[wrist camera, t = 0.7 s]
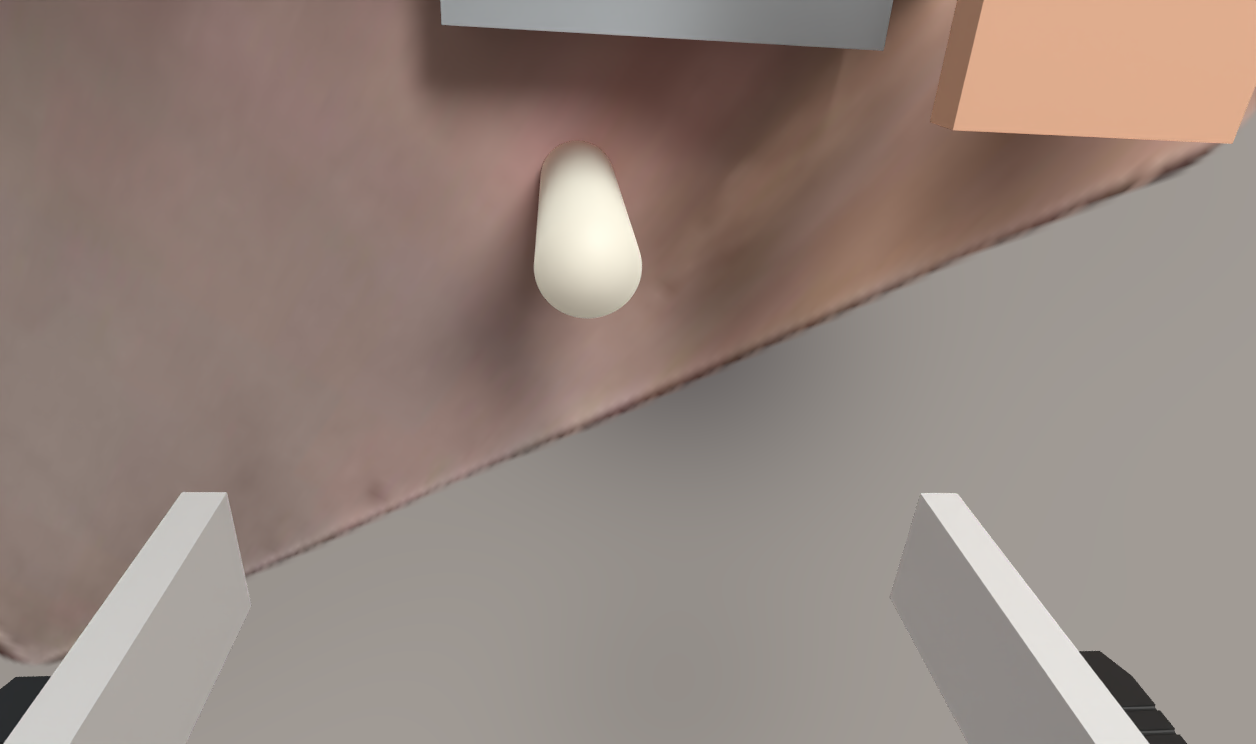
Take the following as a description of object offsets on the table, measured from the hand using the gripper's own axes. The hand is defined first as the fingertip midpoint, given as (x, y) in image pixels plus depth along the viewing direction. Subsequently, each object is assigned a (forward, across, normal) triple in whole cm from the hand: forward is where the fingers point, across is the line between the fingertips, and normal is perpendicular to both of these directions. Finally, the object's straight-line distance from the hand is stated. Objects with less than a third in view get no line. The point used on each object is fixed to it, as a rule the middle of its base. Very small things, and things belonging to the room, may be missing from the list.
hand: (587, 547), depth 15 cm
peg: (+22, 0, +2) cm, 22 cm away
